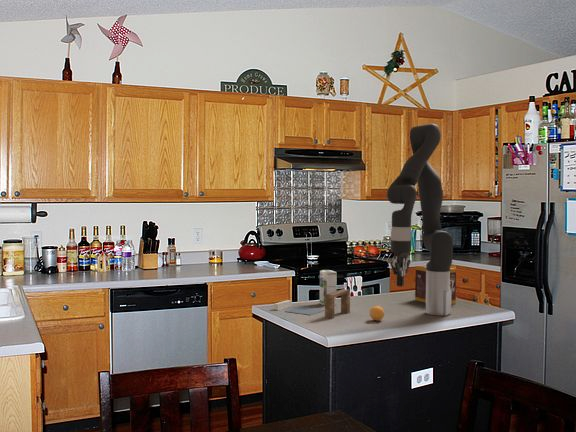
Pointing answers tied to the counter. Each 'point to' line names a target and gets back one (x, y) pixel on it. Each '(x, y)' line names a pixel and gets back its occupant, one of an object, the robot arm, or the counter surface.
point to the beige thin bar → (283, 305)
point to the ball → (376, 313)
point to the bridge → (330, 302)
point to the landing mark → (305, 310)
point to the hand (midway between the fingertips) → (400, 286)
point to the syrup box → (327, 284)
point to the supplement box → (421, 284)
